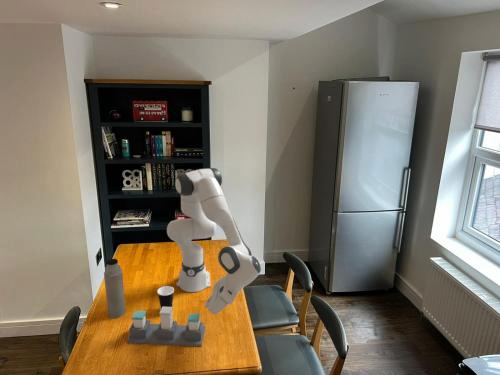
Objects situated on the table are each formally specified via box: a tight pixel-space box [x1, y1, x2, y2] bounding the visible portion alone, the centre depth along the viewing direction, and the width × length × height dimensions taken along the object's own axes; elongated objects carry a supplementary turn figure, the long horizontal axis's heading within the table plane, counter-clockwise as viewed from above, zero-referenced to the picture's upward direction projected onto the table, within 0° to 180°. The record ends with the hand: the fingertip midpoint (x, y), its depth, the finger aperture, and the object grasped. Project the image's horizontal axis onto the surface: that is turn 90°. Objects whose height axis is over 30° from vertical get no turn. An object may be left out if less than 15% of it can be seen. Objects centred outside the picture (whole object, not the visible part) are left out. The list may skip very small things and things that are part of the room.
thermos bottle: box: [103, 258, 127, 319], centre depth 172 cm, size 8×8×28 cm
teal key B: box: [187, 312, 201, 331], centre depth 160 cm, size 5×5×9 cm
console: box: [126, 319, 207, 347], centre depth 161 cm, size 12×32×5 cm, turn 88°
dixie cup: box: [156, 285, 175, 310], centre depth 178 cm, size 8×8×11 cm
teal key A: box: [131, 310, 147, 328], centre depth 161 cm, size 5×5×9 cm
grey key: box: [159, 306, 174, 330], centre depth 159 cm, size 5×5×9 cm
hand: (206, 305), depth 157 cm, fingers closed
